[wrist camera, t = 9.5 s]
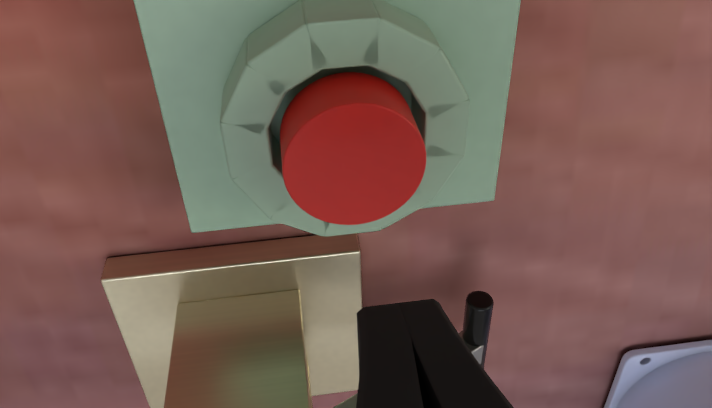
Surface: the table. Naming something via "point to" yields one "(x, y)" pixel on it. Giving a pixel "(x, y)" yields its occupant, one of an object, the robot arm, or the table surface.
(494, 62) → the stop box
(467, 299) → the power lever
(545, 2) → the table surface
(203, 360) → the switch bracket
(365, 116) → the stop button
